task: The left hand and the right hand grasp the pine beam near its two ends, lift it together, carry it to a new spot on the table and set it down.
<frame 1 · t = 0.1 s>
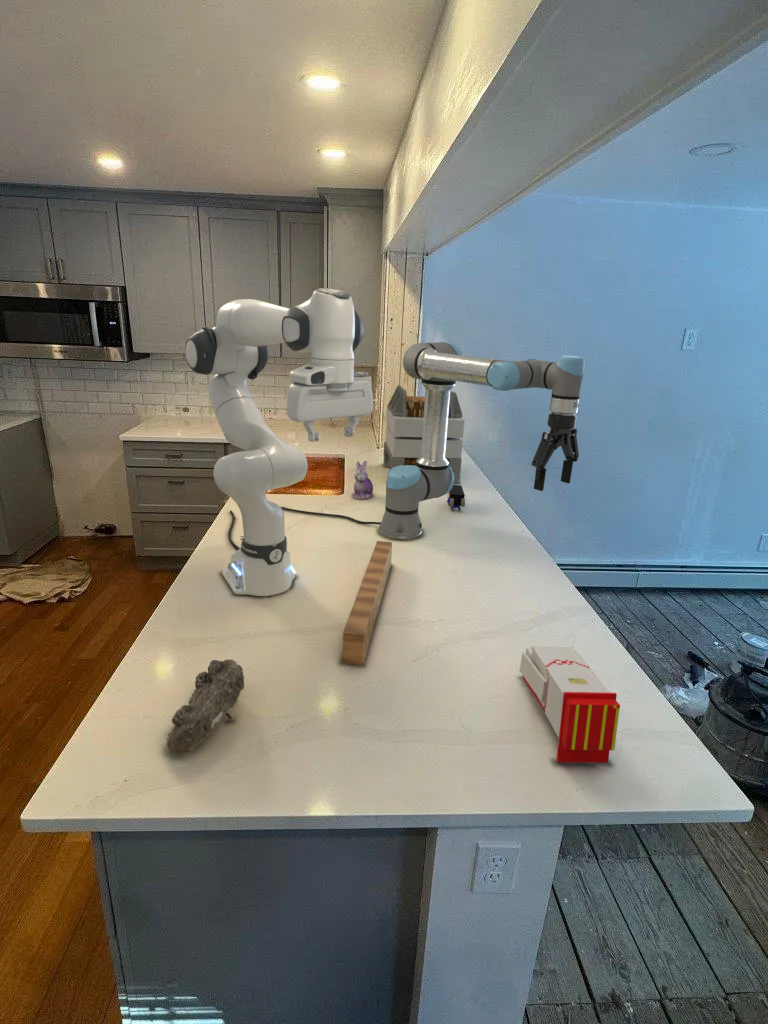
left hand: (331, 438, 122), 48 cm above the counter, tool pointing down, fingers open, 8 cm apart
right hand: (552, 485, 166), 28 cm above the counter, tool pointing down, fingers open, 13 cm apart
transformer: (419, 473, 275), on the counter
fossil: (212, 717, 108), on the counter
toy: (557, 712, 114), on the counter
beam: (370, 606, 151), on the counter
figurine: (362, 496, 238), on the counter
figurine character: (454, 506, 230), on the counter
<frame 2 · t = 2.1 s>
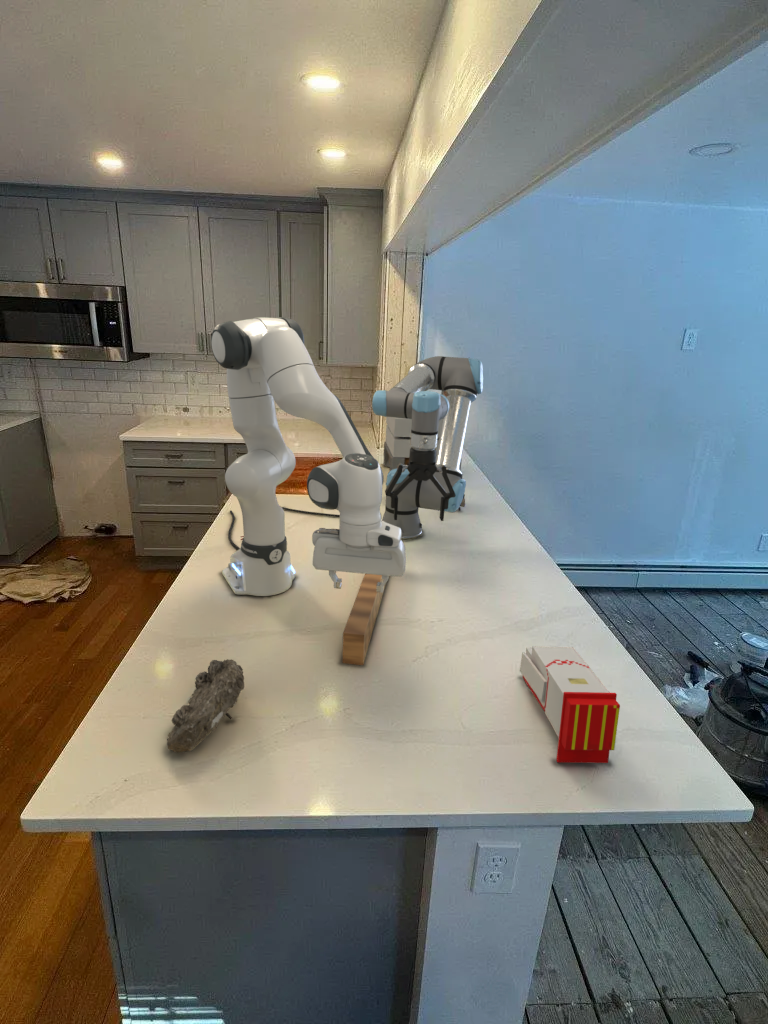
left hand: (358, 589, 125), 16 cm above the counter, tool pointing down, fingers open, 8 cm apart
right hand: (418, 519, 166), 17 cm above the counter, tool pointing down, fingers open, 13 cm apart
nothing on the counter moved.
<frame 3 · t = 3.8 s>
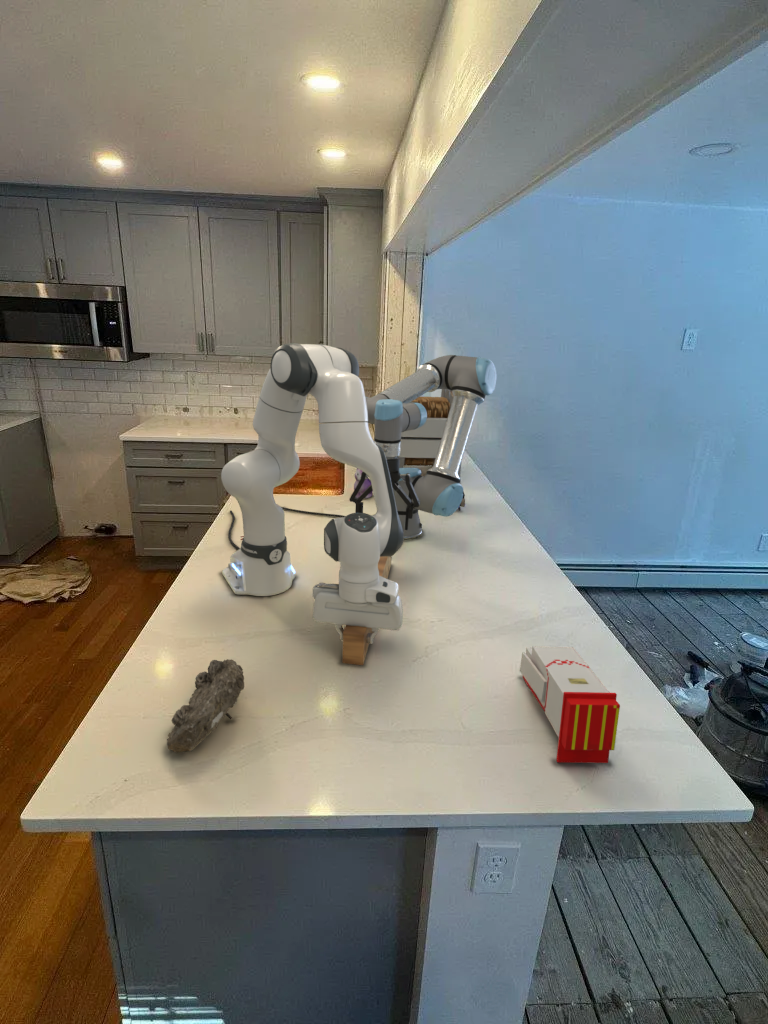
left hand: (357, 640, 130), 3 cm above the counter, tool pointing down, fingers closed on beam, 5 cm apart
right hand: (383, 526, 166), 15 cm above the counter, tool pointing down, fingers open, 13 cm apart
beam: (370, 606, 151), on the counter, touching left hand
everything else where it was.
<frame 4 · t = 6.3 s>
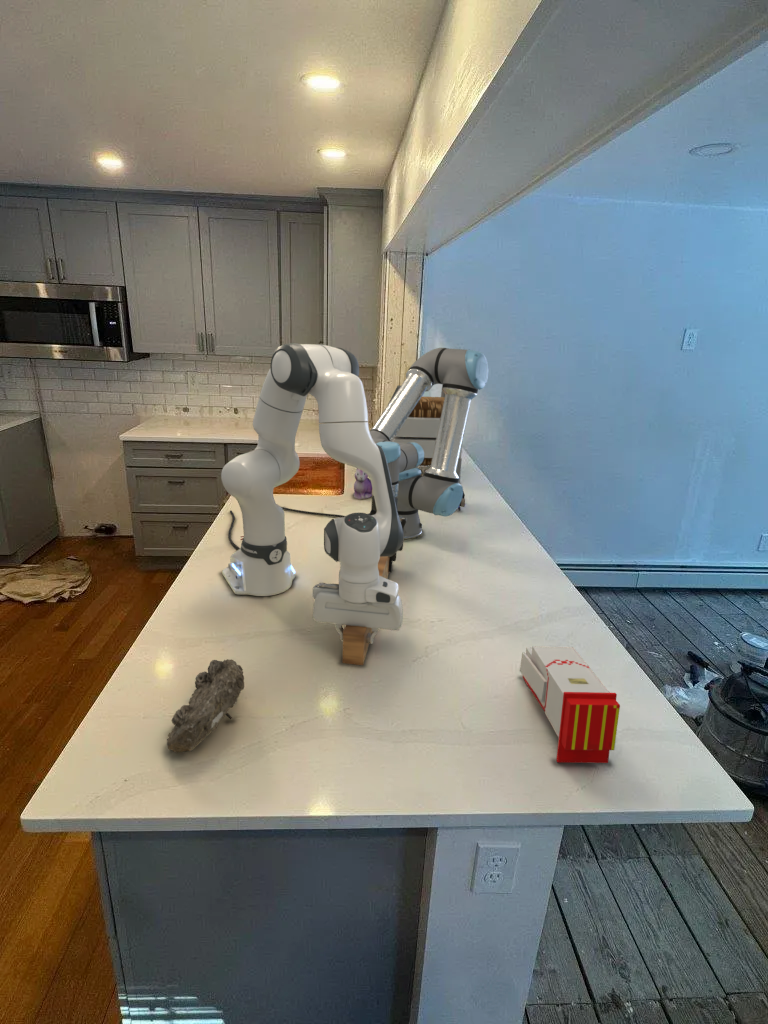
left hand: (357, 640, 130), 3 cm above the counter, tool pointing down, fingers closed on beam, 5 cm apart
right hand: (381, 569, 171), 1 cm above the counter, tool pointing down, fingers closed on beam, 5 cm apart
beam: (370, 606, 151), on the counter, touching right hand, left hand
everything else where it was.
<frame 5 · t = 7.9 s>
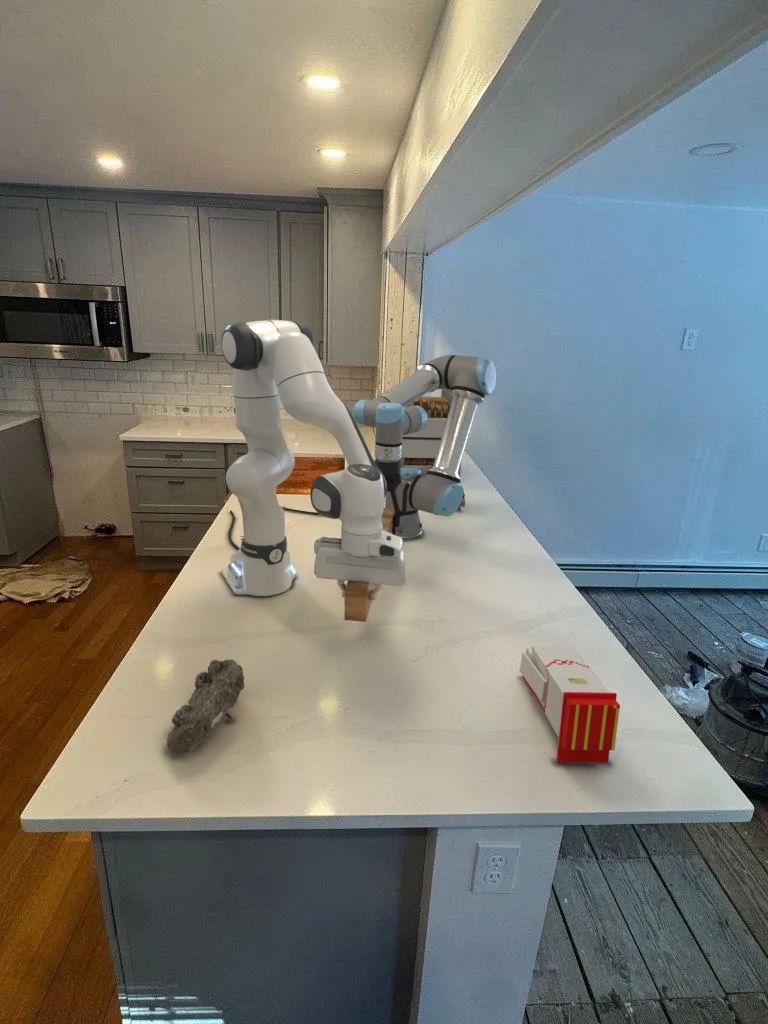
left hand: (359, 597, 126), 14 cm above the counter, tool pointing down, fingers closed on beam, 5 cm apart
right hand: (384, 535, 167), 12 cm above the counter, tool pointing down, fingers closed on beam, 5 cm apart
beam: (373, 569, 147), point 11 cm above the counter, touching right hand, left hand
everything else where it was.
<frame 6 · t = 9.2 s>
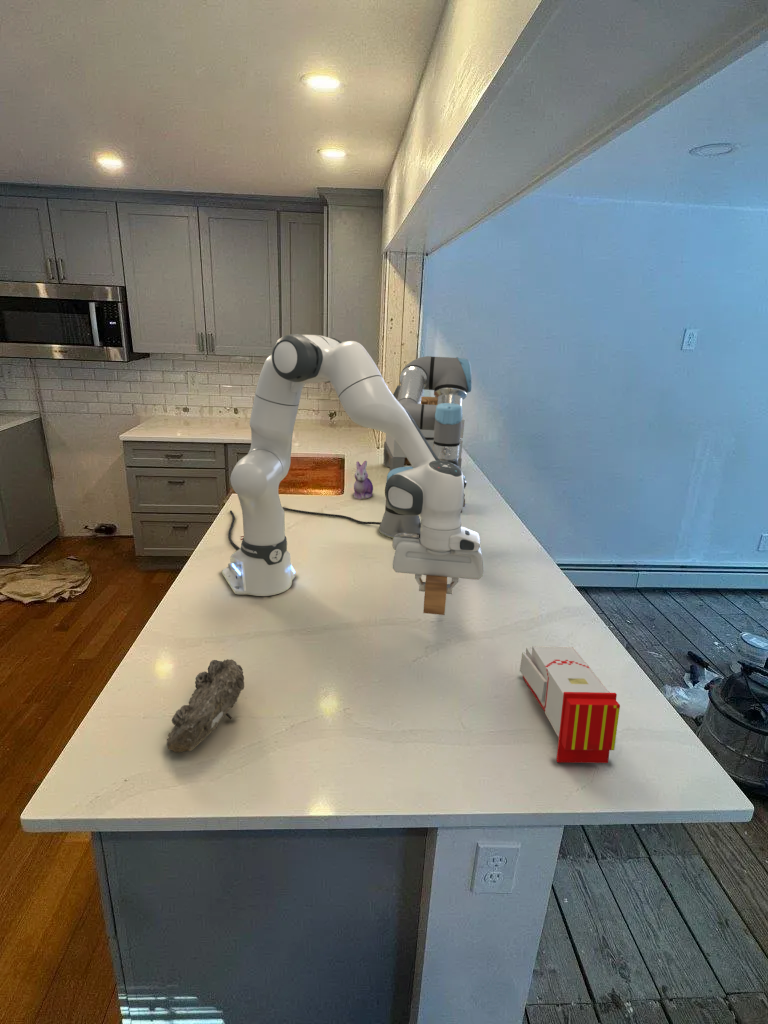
left hand: (435, 591, 129), 15 cm above the counter, tool pointing down, fingers closed on beam, 5 cm apart
right hand: (439, 533, 171), 12 cm above the counter, tool pointing down, fingers closed on beam, 5 cm apart
beam: (437, 565, 150), point 11 cm above the counter, touching right hand, left hand
everything else where it was.
when the right hand's fingers open (2 cm above the counter, at t = 12.1 s): beam stays where it is, on the counter.
when the left hand's fingers open (4 cm above the counter, at t = 12.3 s): beam stays where it is, on the counter.
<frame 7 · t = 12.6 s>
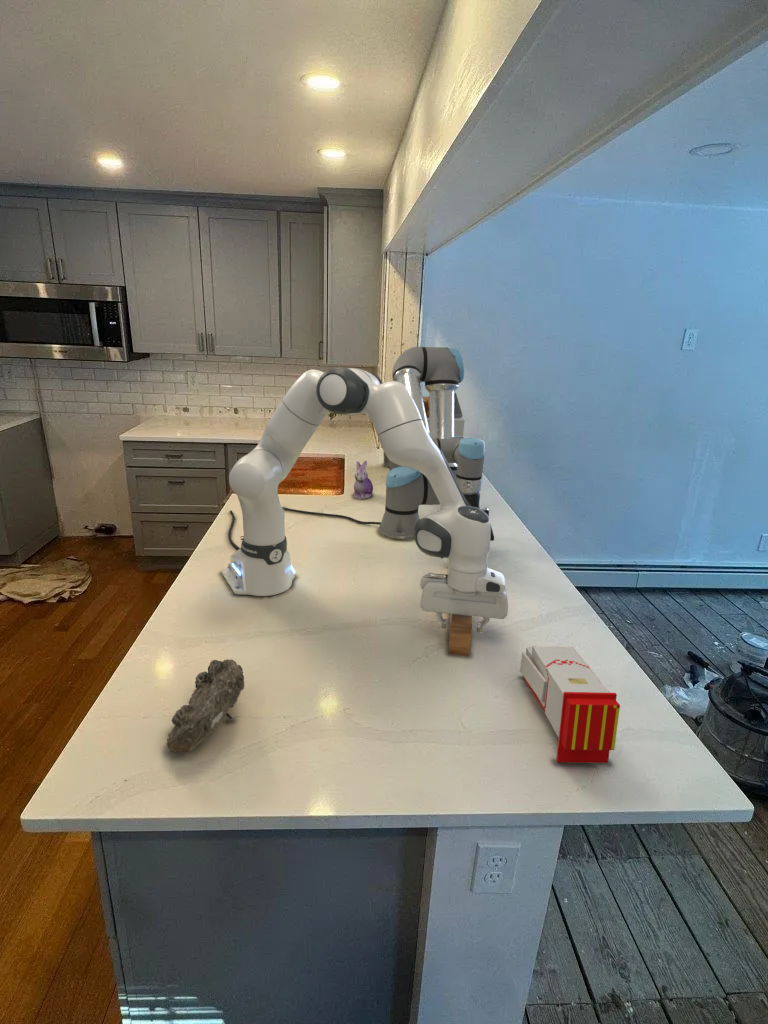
left hand: (461, 629, 134), 4 cm above the counter, tool pointing down, fingers open, 7 cm apart
right hand: (461, 558, 175), 3 cm above the counter, tool pointing down, fingers open, 11 cm apart
beam: (459, 600, 156), on the counter
everything else where it was.
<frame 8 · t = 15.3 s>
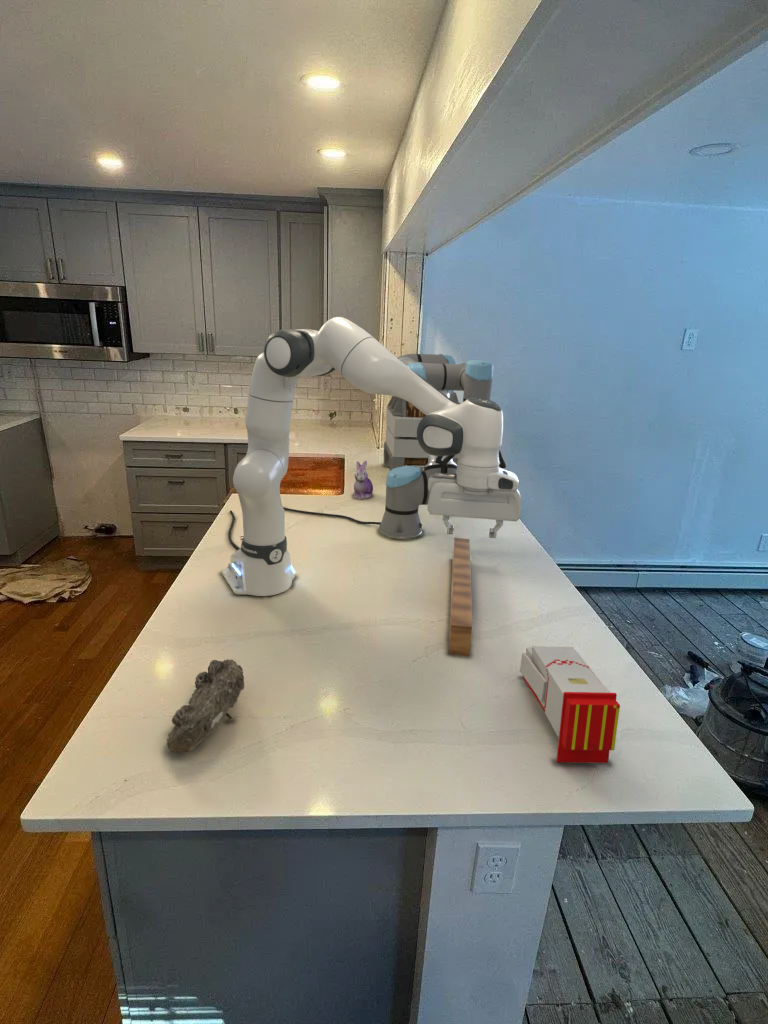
left hand: (471, 535, 126), 28 cm above the counter, tool pointing down, fingers open, 8 cm apart
right hand: (467, 488, 167), 26 cm above the counter, tool pointing down, fingers open, 13 cm apart
nothing on the counter moved.
at the end: beam inside the target area (0.2 cm from its centre), on the counter; beam tilted 0°; beam never tilted more than 1° during the clip; both hands held the beam at the same time; the left hand is holding nothing; the right hand is holding nothing; beam at rest at the end (0.0 cm/s) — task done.
